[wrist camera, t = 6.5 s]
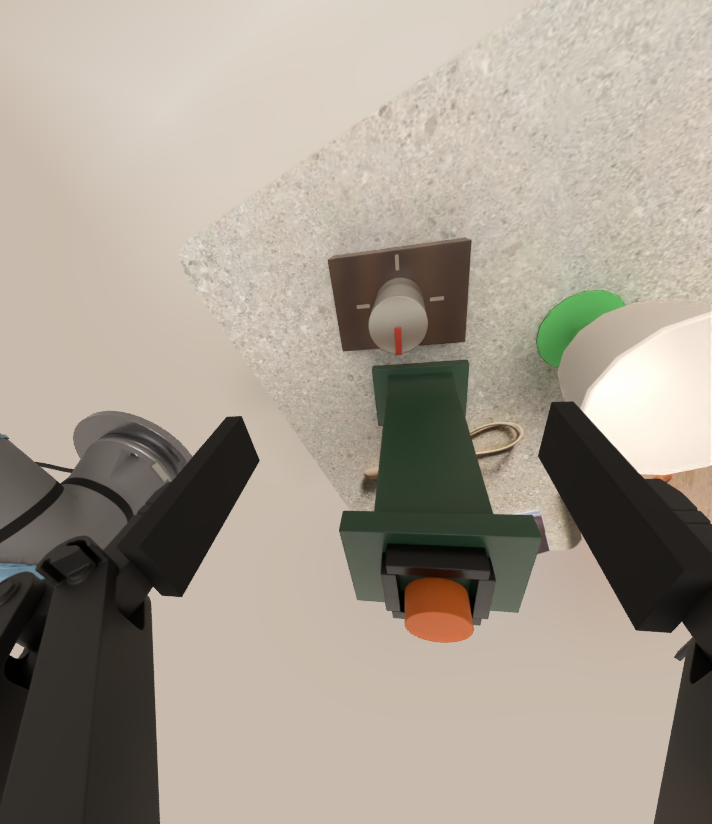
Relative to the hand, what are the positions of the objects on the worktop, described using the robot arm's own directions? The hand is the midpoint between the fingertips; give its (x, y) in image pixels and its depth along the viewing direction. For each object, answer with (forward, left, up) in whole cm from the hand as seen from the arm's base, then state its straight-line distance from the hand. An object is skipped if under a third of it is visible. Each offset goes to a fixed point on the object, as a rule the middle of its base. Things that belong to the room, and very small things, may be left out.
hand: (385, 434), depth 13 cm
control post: (+2, -13, -26) cm, 29 cm away
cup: (+20, -6, -26) cm, 34 cm away
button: (+2, -13, 0) cm, 13 cm away
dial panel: (0, 0, -26) cm, 26 cm away
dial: (0, 0, -23) cm, 23 cm away
